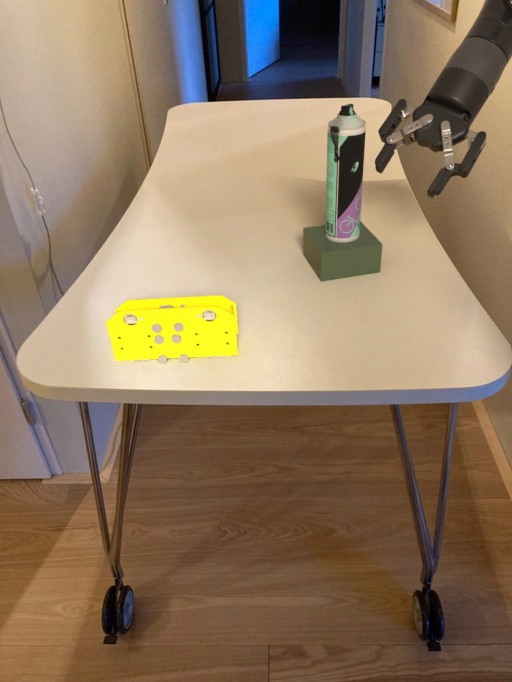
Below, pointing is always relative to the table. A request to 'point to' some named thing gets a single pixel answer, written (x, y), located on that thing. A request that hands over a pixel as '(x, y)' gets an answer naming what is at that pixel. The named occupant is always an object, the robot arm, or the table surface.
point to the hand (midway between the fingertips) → (403, 182)
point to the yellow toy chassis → (174, 328)
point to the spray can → (344, 175)
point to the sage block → (341, 254)
